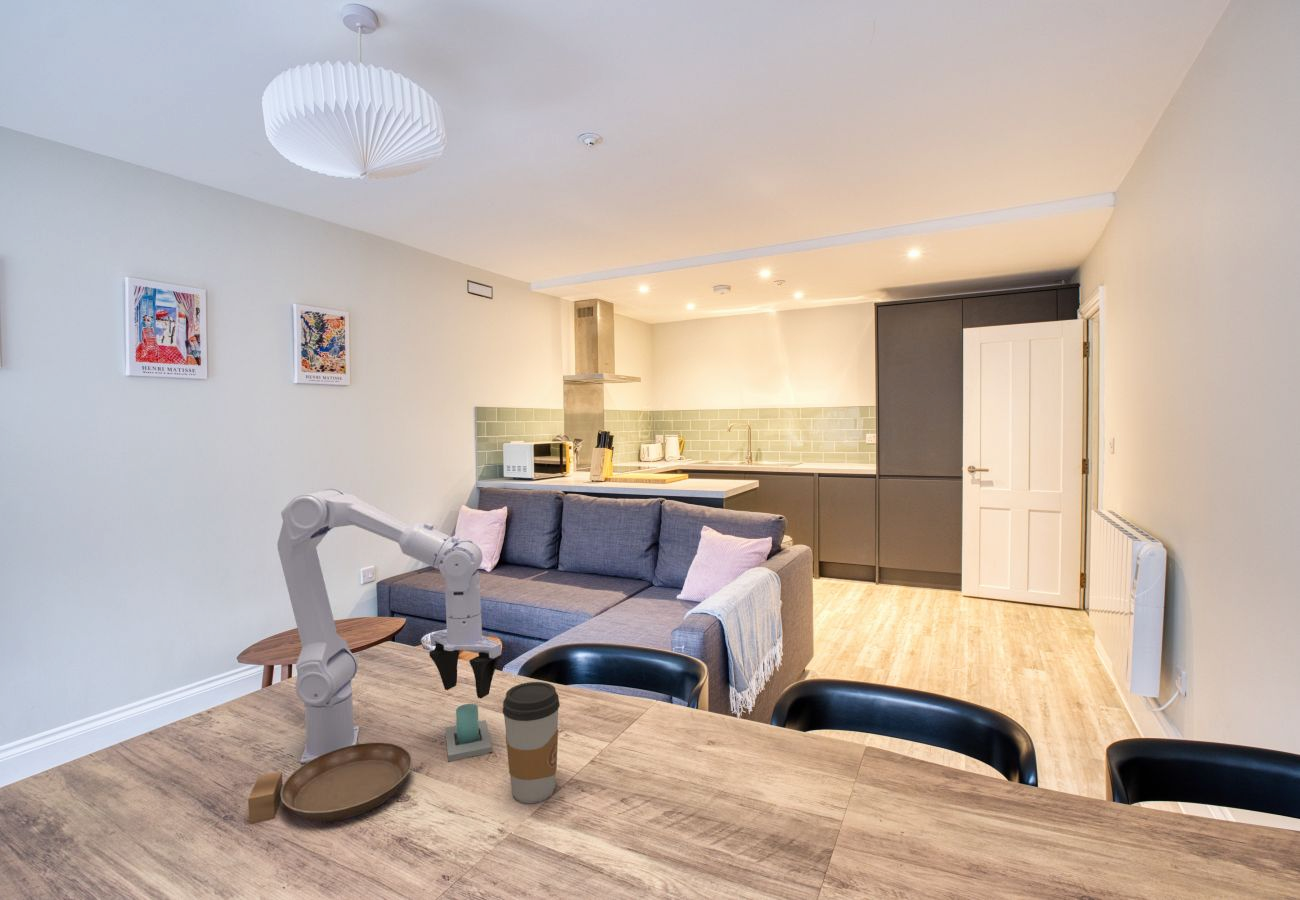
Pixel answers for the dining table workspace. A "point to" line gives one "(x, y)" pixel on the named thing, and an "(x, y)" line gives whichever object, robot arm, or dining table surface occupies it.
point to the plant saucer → (346, 781)
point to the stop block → (265, 797)
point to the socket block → (468, 748)
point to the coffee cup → (532, 739)
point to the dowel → (467, 724)
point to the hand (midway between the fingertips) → (466, 691)
